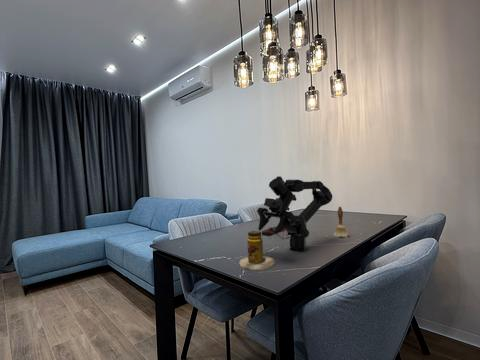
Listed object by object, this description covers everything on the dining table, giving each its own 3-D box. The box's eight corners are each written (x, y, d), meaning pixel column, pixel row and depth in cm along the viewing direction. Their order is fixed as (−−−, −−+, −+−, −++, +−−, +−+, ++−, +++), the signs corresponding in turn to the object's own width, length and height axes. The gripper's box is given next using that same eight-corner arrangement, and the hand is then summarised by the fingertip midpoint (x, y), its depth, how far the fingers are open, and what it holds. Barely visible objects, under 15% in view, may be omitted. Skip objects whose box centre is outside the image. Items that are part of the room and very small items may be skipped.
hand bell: (337, 238, 139) (336, 208, 139) (330, 235, 148) (329, 206, 147) (352, 237, 140) (351, 207, 140) (344, 233, 149) (343, 205, 148)
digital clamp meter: (255, 228, 153) (280, 221, 171) (255, 236, 153) (280, 228, 171) (290, 234, 137) (313, 225, 155) (290, 243, 137) (314, 233, 155)
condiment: (246, 264, 104) (244, 234, 104) (248, 257, 113) (247, 229, 112) (264, 264, 103) (263, 234, 103) (266, 257, 111) (265, 229, 111)
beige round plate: (279, 260, 110) (279, 257, 110) (266, 272, 98) (266, 269, 98) (248, 256, 117) (248, 254, 117) (233, 267, 105) (233, 264, 104)
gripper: (259, 189, 121) (241, 217, 115) (291, 192, 107) (273, 224, 100) (271, 204, 127) (255, 232, 120) (304, 208, 112) (287, 240, 106)
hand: (266, 231), depth 111 cm, fingers open, 9 cm apart
